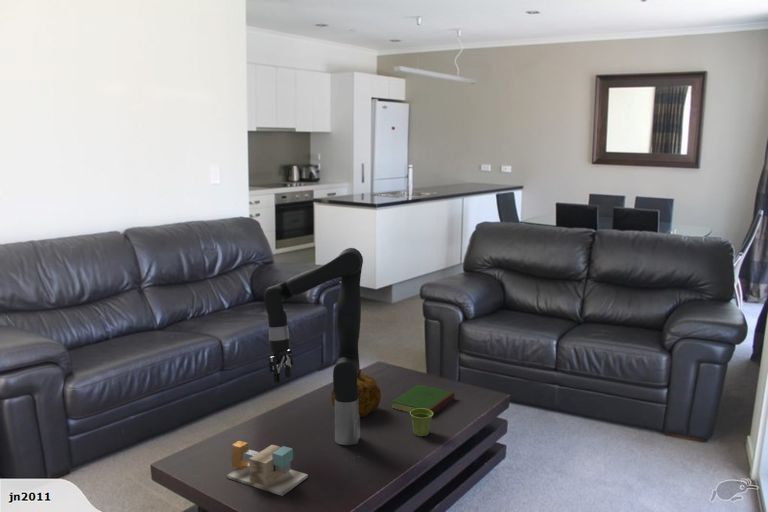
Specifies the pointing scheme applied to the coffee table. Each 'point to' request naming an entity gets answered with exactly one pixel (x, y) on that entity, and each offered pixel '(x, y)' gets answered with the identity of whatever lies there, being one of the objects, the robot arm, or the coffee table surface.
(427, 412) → the plant pot
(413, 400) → the hardcover book
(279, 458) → the block
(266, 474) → the bearing block
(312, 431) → the coffee table surface
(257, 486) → the base board
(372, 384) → the decorative pumpkin
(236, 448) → the shaft
